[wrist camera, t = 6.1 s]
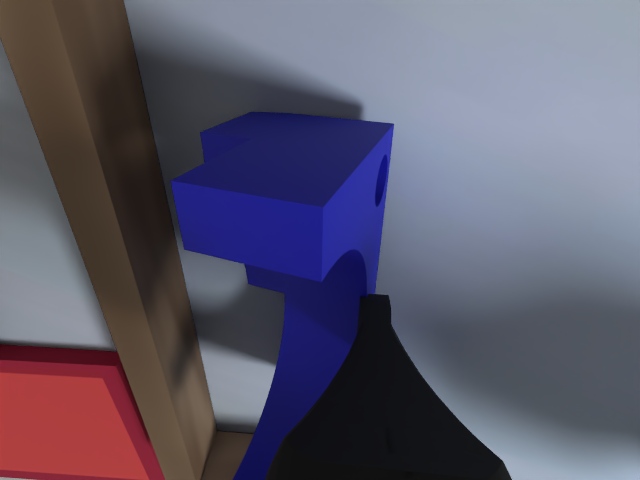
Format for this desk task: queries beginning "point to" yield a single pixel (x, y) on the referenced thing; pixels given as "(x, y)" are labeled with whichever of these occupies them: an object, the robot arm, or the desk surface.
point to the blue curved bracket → (293, 240)
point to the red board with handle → (70, 417)
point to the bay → (120, 216)
